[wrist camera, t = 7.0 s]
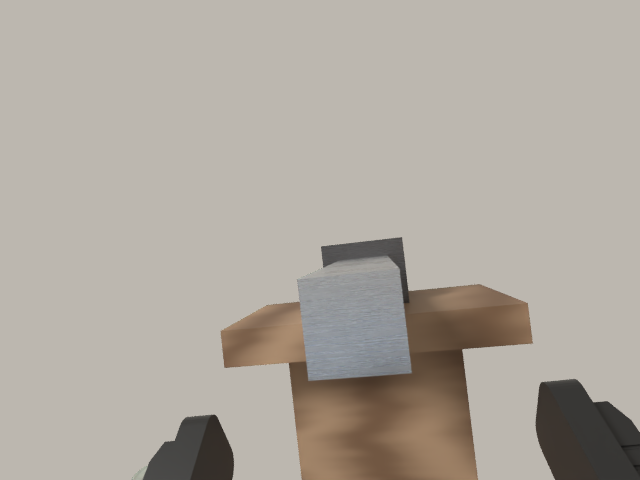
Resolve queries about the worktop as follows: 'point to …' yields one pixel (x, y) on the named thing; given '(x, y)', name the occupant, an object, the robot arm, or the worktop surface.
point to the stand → (388, 387)
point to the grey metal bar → (356, 311)
